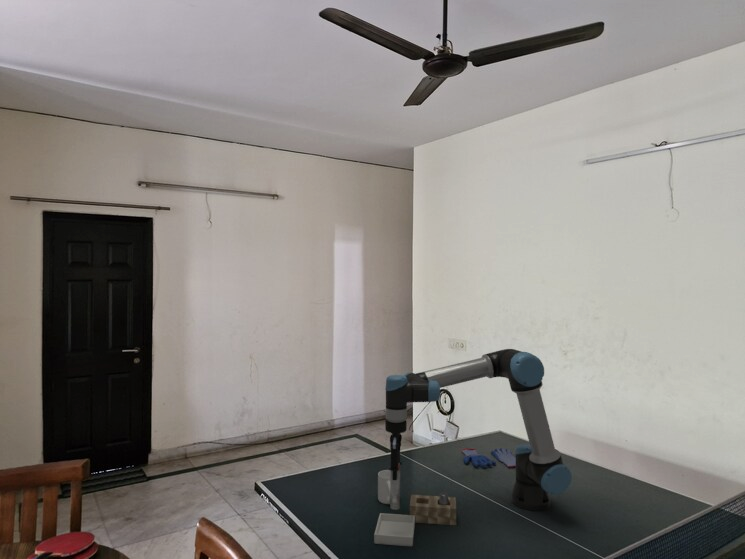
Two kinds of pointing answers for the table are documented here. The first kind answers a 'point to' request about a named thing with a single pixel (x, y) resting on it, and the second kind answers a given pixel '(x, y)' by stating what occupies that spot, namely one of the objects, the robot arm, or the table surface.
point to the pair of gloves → (484, 461)
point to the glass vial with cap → (395, 494)
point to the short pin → (443, 498)
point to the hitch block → (433, 510)
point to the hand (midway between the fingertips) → (395, 485)
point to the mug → (384, 486)
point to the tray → (395, 529)
